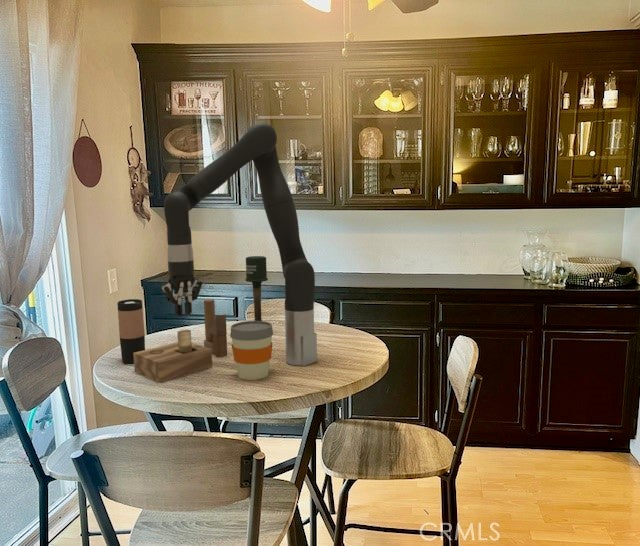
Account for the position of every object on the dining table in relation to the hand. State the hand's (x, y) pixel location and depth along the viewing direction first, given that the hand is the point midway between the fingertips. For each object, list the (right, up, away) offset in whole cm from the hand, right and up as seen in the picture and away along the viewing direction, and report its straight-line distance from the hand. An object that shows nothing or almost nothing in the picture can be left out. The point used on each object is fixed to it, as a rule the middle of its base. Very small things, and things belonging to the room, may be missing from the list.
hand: (183, 315), depth 157 cm
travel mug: (-19, -16, +11) cm, 27 cm away
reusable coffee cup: (+22, -18, -4) cm, 28 cm away
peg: (0, -17, +2) cm, 17 cm away
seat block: (-4, -17, +2) cm, 18 cm away
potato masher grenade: (+18, -11, +43) cm, 48 cm away
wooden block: (+6, -15, +19) cm, 25 cm away
